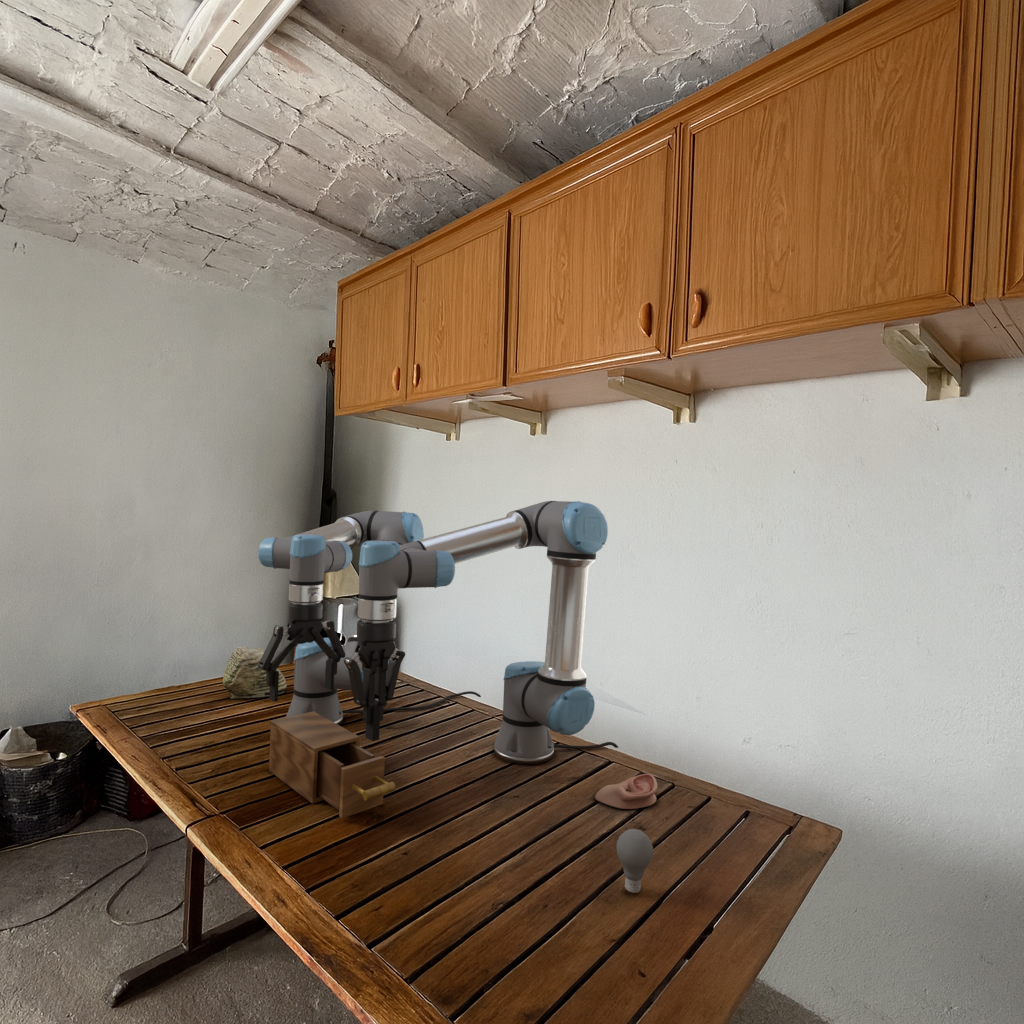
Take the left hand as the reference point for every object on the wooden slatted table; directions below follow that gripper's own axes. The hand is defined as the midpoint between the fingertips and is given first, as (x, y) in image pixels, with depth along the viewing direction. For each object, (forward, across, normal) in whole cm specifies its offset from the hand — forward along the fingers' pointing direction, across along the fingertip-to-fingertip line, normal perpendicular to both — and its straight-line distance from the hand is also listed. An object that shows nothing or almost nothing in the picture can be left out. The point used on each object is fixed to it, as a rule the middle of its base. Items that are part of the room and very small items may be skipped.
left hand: (302, 694), depth 146 cm
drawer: (+17, 0, -20) cm, 26 cm away
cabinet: (+18, 0, -6) cm, 19 cm away
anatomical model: (+18, +48, -57) cm, 77 cm away
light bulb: (+18, +20, -77) cm, 82 cm away
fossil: (+18, +15, +59) cm, 64 cm away
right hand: (+2, 0, -29) cm, 29 cm away
